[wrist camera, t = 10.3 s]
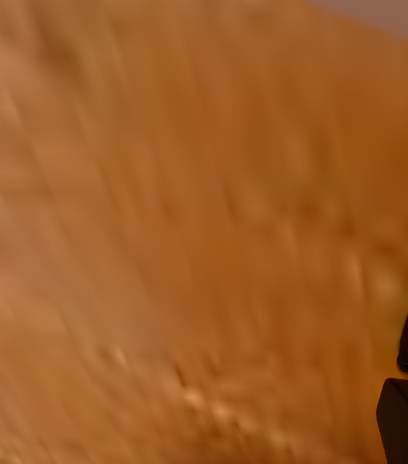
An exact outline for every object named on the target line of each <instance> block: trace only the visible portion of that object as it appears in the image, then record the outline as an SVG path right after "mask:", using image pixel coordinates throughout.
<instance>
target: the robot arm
mask: <svg viewBox="0 0 408 464" xmlns="http://www.w3.org/2000/svg"><path fill="white" fill-rule="evenodd" d="M400 344H401V349H400V352H399V355H398V358H397V364H398V366H399V367H400V369H401V370H402V371H404V372H408V364H405V363H406V362H408V317H407V320H406V324H405V327H404V330H403V334H402V337H401V340H400ZM404 364H405V365H404ZM376 418H377V423H378V427H379V431H380V435H381V439H382V443H383V447H384V450H385V454H386V458H387V462H388V464H408V380H405V379H397V378H388V379H386V380H385V382H384V384H383V388H382V391H381V395H380V398H379V402H378V405H377V409H376Z"/></svg>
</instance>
